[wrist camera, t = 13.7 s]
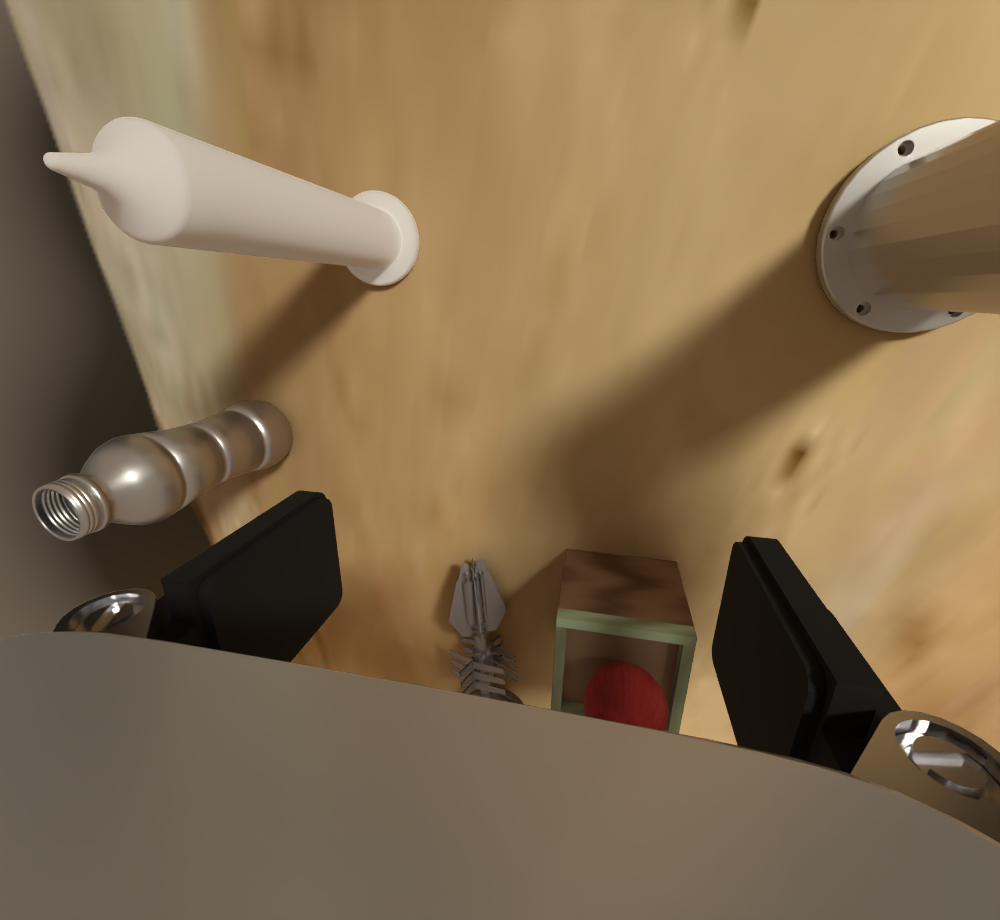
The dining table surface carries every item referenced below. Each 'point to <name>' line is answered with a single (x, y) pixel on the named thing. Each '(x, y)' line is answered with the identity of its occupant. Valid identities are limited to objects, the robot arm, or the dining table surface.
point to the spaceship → (480, 633)
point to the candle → (237, 203)
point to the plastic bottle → (162, 470)
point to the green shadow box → (622, 627)
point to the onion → (626, 696)
